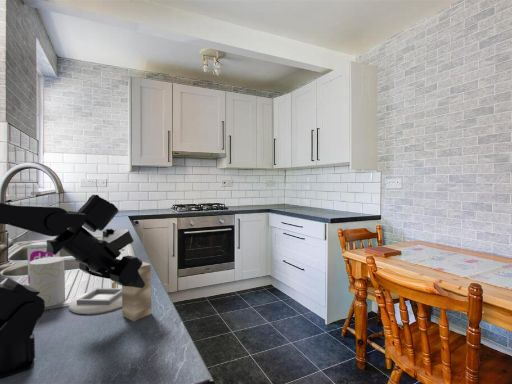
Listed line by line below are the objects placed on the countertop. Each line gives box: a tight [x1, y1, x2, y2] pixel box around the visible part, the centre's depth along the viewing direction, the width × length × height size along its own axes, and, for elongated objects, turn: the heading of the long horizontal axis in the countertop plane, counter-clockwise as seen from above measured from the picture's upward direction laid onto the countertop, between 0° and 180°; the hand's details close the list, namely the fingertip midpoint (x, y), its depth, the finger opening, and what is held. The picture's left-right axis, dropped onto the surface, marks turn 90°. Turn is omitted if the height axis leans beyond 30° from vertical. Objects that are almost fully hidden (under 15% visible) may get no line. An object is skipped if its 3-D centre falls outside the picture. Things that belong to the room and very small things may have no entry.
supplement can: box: [27, 240, 61, 286], centre depth 93 cm, size 8×8×15 cm
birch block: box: [121, 261, 152, 322], centre depth 75 cm, size 5×5×13 cm
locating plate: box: [68, 281, 122, 315], centre depth 83 cm, size 16×16×4 cm
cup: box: [29, 256, 66, 308], centre depth 83 cm, size 8×8×12 cm
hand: (132, 282), depth 74 cm, fingers open, 9 cm apart
